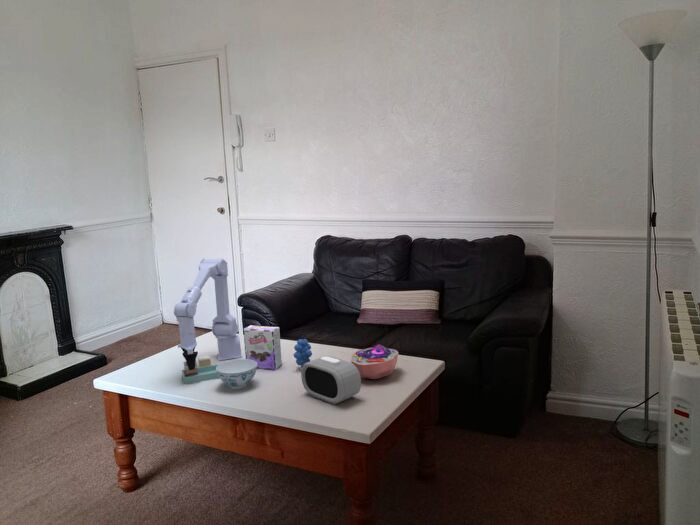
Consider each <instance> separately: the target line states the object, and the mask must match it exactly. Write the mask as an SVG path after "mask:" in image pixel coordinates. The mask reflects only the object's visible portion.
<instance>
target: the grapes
mask: <svg viewBox="0 0 700 525" xmlns="http://www.w3.org/2000/svg"><path fill="white" fill-rule="evenodd" d="M293 349H294V350H295V352H294V353H293V358H295V359H296V360H295V363H296V364H297V366H300V367H301V368H302V367H303V365H304V364H305V363H307V362H310V361H311V359H310V358H311V357H312V355H313V352H312V350H311V349H312V345H311V344H310V343H309V341H308V340H307V339H306V338H299V339H298V340H297V342H296V344H295V345H294V347H293Z"/></svg>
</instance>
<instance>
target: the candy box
mask: <svg viewBox="0 0 700 525" xmlns="http://www.w3.org/2000/svg"><path fill="white" fill-rule="evenodd" d="M280 330H281V329H280V327H279V326H267V325H266V326H263V325H262V326H261V325H252V324H251V325H249V326H246V327H244V328H243V330H242V331H243V339H244V340H243V341H244V343H243V344H244V352H245V354H244V355H245V359H250V360H254V361H256V362H257V369H260V370H272V371H276V370H278V369H280V368H281V367H282V366H283V363H282V346H281V333H280Z"/></svg>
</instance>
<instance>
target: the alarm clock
mask: <svg viewBox="0 0 700 525" xmlns="http://www.w3.org/2000/svg"><path fill="white" fill-rule="evenodd" d="M300 374H301V376H300V377H301V382H302V385H303V388H304V389H305V390H306V392H307V393H308V394H309V395H311V396H312V397H314V398H316V399H319V400H322V401H325V402H328V403H330V404H332V405H337V404H339V403H341V402H343V401H347V399H348V400H349V399H350V398H351V397H354V396H355V395H357V394H358V393H360V391H361V388H362V377H361V376H360V373H359V371H358V369H357V367H356V366H355V365H354V364H352V363H351V361H348V360H345V359H341V358H337V357H335V356H334V357H333V356H330V355H329V356H328V355H324V356H322V357H318V358H315V359H313V360H310V362H307V363H305V364H304V365H303V367H301V373H300Z"/></svg>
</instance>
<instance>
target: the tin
mask: <svg viewBox="0 0 700 525" xmlns="http://www.w3.org/2000/svg"><path fill="white" fill-rule="evenodd" d="M198 368H199V367H198V363H197V361H196V362H195V369H194V370H189V369H188V365H187V362H186V361H183V370H184V372H185V377H188V376H194V375H198Z"/></svg>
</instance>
